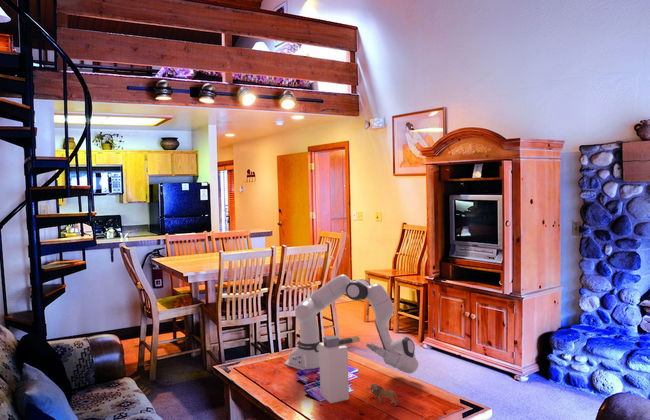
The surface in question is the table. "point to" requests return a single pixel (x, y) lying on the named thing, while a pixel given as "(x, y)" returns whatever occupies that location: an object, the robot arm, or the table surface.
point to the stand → (334, 373)
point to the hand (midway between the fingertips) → (371, 347)
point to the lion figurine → (383, 393)
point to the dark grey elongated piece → (338, 341)
